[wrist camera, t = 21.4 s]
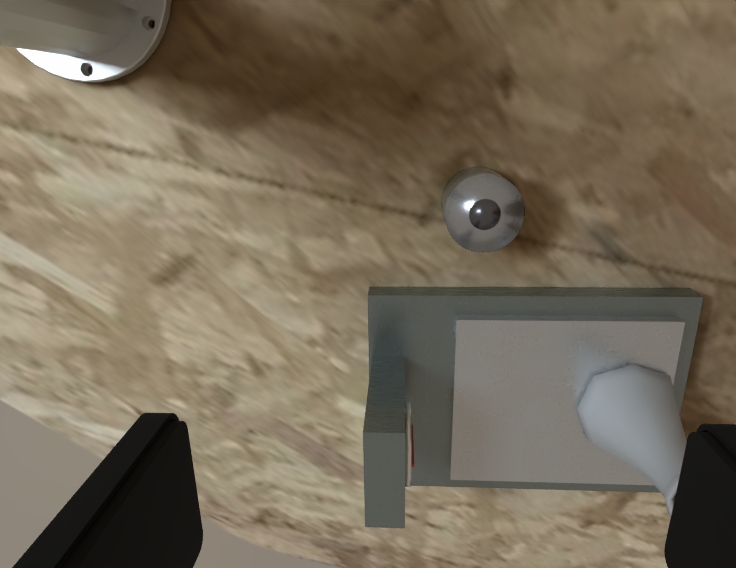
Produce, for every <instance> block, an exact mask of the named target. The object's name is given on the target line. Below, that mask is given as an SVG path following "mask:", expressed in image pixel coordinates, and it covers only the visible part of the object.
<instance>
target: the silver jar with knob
mask: <svg viewBox="0 0 736 568" xmlns="http://www.w3.org/2000/svg"><path fill="white" fill-rule="evenodd" d="M441 207H442V212H443V215H444V218H445V222H446V225H447V228H448V231H449V233H450V235H451V236H452V238H453V239H454V240H455V241H456V242H457V243H458V244H459V245H461V246H462V247H464V248H466V249H468V250H471V251H474V252H491V251H495V250H498V249H500V248H503V247H504V246H506V245H507V244H509V243H510V242H511V241H512V240H513V239H514V238H515V237H516V236H517V234H518V233H519V231H520V229H521V227H522V225H523V221H524V216H525V207H524V202H523V199H522V196H521V194H520V193H519V191H518V190H517V188H516V187H515V186H514V185H513V184H512V183H510V182H509V181H508V180H506V179H505V178H504V177H502V176H501V175H500V174H498V173H497V172H495V171H493V170H491V169H489V168H485V167H470V168H467V169H464V170H462V171H460V172H458V173H457V174H455V175H454V176H453V177H452V178H451V179H450V180H449V181H448V183H447V184H446V186H445V188H444V191H443V193H442V199H441Z"/></svg>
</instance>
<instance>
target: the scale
mask: <svg viewBox="0 0 736 568" xmlns="http://www.w3.org/2000/svg"><path fill="white" fill-rule="evenodd" d="M703 298H704V297H703V296H701V295H699V294H698V293H696V292H695V291H693V290H691V289H690V288H563V287H369V292H368V332H369V387H368V395H367V404H366V412H365V421H364V429H363V451H364V494H365V527H382V528H405V487H411V486H446V487H482V488H517V489H553V490H589V491H624V492H660V491H659V489H658V488H657V487H656V486H654V485H653V484H652V483H651V482H650V481H649V480H648V479H647V478H646V477H645V476H644V475H643V474H642V473H640V472H639V471H637V470H636V469H634V468H633V467H631V466H629V465H628V464H626V463H625V462H623V461H622V460H620V459H619V458H617V457H616V456H614V455H612V454H610V453H609V452H607V451H605V450H603V449H602V448H600V447H598V446H597V445H595V444H593V443H592V442H590V441H589V440H587V439H586V436H585V433H584V429H583V426H582V422H581V419H580V416H579V412H578V409H577V408H578V406H579V404H580V402H581V400H582V398H583V396H584V394H585V392H586V390H587V388H588V385H589V383H590V381H591V379H592V377H593V376H595V375H599V374H602V373H605V372H609V371H612V370H616V369H619V368H623V367H626V366H630V365H636V366H639V367H643V368H646V369H649V370H653V371H656V372H660V373H663V374H667V375H670V378H671V381H672V385H673V389H674V394H675V398H676V402H677V407H678V411H679V415H680V413H681V408H682V403H683V398H684V393H685V388H686V383H687V378H688V373H689V368H690V363H691V358H692V353H693V348H694V343H695V338H696V333H697V328H698V323H699V318H700V313H701V308H702V303H703ZM660 493H661V492H660Z"/></svg>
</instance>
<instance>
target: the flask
mask: <svg viewBox="0 0 736 568" xmlns="http://www.w3.org/2000/svg"><path fill="white" fill-rule="evenodd" d="M577 409H578V412H579V416H580V419H581V422H582V426H583V429H584V433H585V436H586V439H587V440H589V441H590V442H592V443H593V444H595V445H597V446H598V447H600V448H602V449H603V450H605V451H607V452H609V453H610V454H612V455H614V456H616V457H617V458H619V459H620V460H622V461H623V462H625V463H626V464H628V465H629V466H631V467H633V468H634V469H636V470H637V471H639V472H640V473H642V474H643V475H644V476H645V477H646V478H647V479H648V480H649V481H650V482H651V483H652V484H653V485H654V486H656V487H657V488H658V489H659V491H660V492H661V493H662V495H663V496H664V498H665V501H666V505H667V509H668V512H669V515H670V516H671V515H672V510H673V505H674V500H675V496H676V491H677V486H678V481H679V476H680V472H681V467H682V462H683V457H684V452H685V448H686V443H687V440H686V437H685V433H684V429H683V426H682V422H681V419H680V415H679V411H678V407H677V402H676V398H675V394H674V389H673V385H672V381H671V378H670V375H667V374H663V373H660V372H656V371H653V370H649V369H646V368H643V367H639V366H636V365H630V366H626V367H623V368H619V369H616V370H612V371H609V372H605V373H602V374H599V375H595V376H593V377H592V379H591V381H590V383H589V385H588V388H587V390H586V392H585V394H584V396H583V398H582V400H581V402H580V404H579V406H578V408H577Z"/></svg>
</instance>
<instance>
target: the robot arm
mask: <svg viewBox="0 0 736 568" xmlns="http://www.w3.org/2000/svg"><path fill="white" fill-rule="evenodd" d="M171 1H172V0H0V46H6V47H13V48H16V49H17V50H18V51H19V52H20V53H21V54H22V55H23V56H24V57H26V58H27V59H28V60H29V61H31V62H32V63H33V64H34V65H36V66H38V67H40V68H41V69H43V70H45V71H47V72H49V73H50V74H53V75H56V76H59V77H62V78H64V79H67V80H73V81H80V82H105V81H111V80H116V79H118V78H121V77H123V76H125V75H128V74H130V73H132V72H133V71H134V70H136V69H137V68H139V67H140V66H141V65H143V64H144V63H145V62H146V61H147V59H148V58H149V57H150V56H151V55H152V54H153V53H154V51H155V50H156V48H157V46H158V45H159V43H160V41H161V39H162V37H163V36H164V33H165V30H166V26H167V23H168V20H169V16H170V9H171ZM153 21H155V27H154V28H152V26H151V23H152V22H153ZM91 68H93V73H92V72H91ZM202 541H203V529H202V523H201V516H200V509H199V502H198V495H197V489H196V482H195V475H194V468H193V462H192V455H191V448H190V441H189V435H188V428H187V425H186V423H185V422H184V421H179V419H178V417H177V415H176V414H174V413H144V414H142V415H141V416H140V417H139V418H138V420H137V421H136V422H135V423H134V424H133V425H132V427H131V428H130V429H129V430H128V431H127V433H126V434H125V435H124V436H123V437H122V439H121V440H120V441H119V442H118V443H117V444H116V446H115V447H114V448H113V449H112V450H111V452H110V453H109V454H108V455H107V456H106V457H105V459H104V460H103V461H102V462H101V463H100V465H99V466H98V467H97V468H96V469H95V471H94V472H93V473H92V474H91V475H90V476H89V478H88V479H87V480H86V481H85V482H84V483H83V485H82V486H81V487H80V488H79V490H78V491H77V492H76V493H75V494H74V495H73V497H72V498H71V499H70V500H69V501H68V502H67V504H66V505H65V506H64V507H63V508H62V509H61V511H60V512H59V513H58V514H57V515H56V517H55V518H54V519H53V520H52V521H51V523H50V524H49V525H48V526H47V527H46V528H45V530H44V531H43V532H42V533H41V534H40V536H39V537H38V538H37V539H36V540H35V542H34V543H33V544H32V545H31V546H30V547H29V549H28V550H27V551H26V552H25V553H24V554H23V556H22V557H21V558H20V559H19V560H18V562H17V563H16V564H15V565H14V566H13V567H12V568H193V566H194V564H195V562H196V559H197V557H198V555H199V553H200V550H201V546H202ZM665 559H666V563H667V566H668V568H736V425H735V424H703V425H700V426H699V428H698V429H697V432H692V433H690V434H689V436H688V439H687V443H686V448H685V452H684V457H683V462H682V467H681V472H680V476H679V481H678V486H677V491H676V496H675V500H674V505H673V510H672V515H671V520H670V524H669V529H668V534H667V539H666V544H665Z"/></svg>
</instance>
